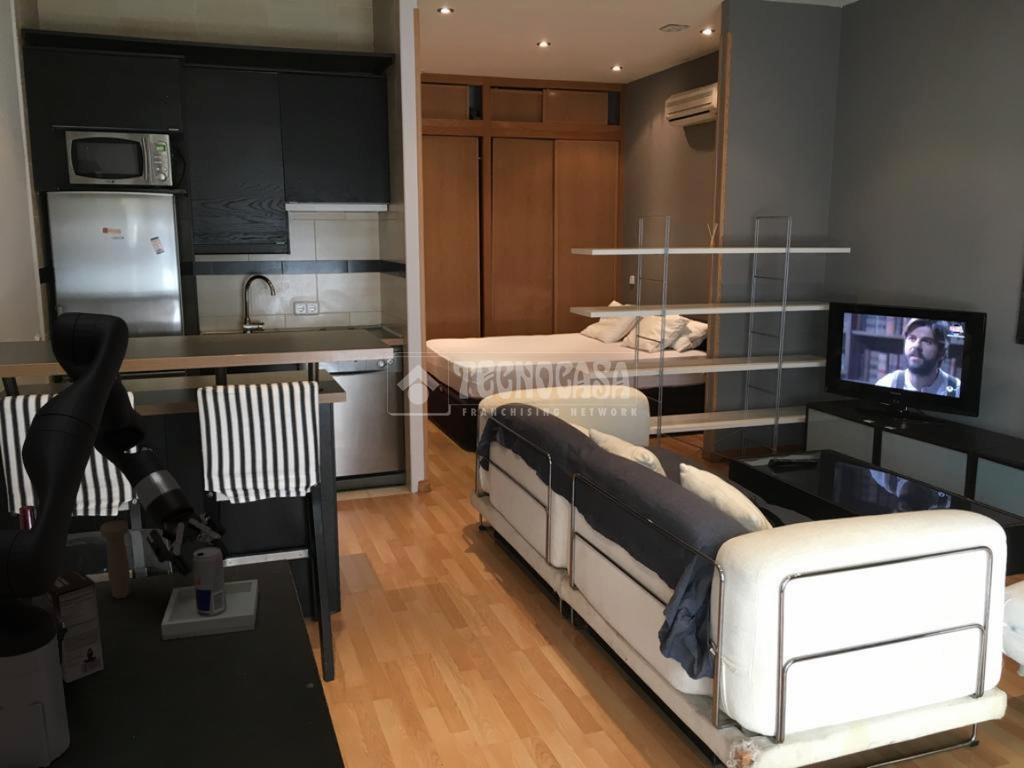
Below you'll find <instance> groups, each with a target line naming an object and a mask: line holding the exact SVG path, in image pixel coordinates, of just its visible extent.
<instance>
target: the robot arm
mask: <svg viewBox="0 0 1024 768" xmlns="http://www.w3.org/2000/svg"><path fill="white" fill-rule="evenodd" d="M129 332H130V331H129V327H128V324H127V322H126V321H125V320H124V319H123V318H122V317H120V316H117V315H112V314H104V313H91V312H81V311H79V312H77V311H73V312H72V311H71V312H69V311H68V312H63V313H61V314H59V315H58V316H57V317H56V319H55V320H54V322H53V326H52V328H51V334H50V342H51V343H50V344H51V349H52V350H51V351H52V353H53V355H54V357H55V360H56V361H57V363H58V364H59V366H60V367H61V368H62V370H63V371H64V372H65V374H66V375H67V376H68V378H69V379H70V380H71V382H72V384H70V385H69V386H67V387H65V388H64V389H63V390H61V391H60V392H58V393H57V394H56V395H54V396H53V397H51V399H49V400H48V401H46V402H45V403H44V404H43V405H42V406H41V407H40V408H39V409H38V410H37V411H36V413H35V415H34V416H33V418H32V420H31V423H30V425H29V427H28V429H27V430H28V431H27V433H26V436H25V439H24V442H23V444H22V447H21V451H20V453H21V459H22V461H21V462H22V465H23V467H24V470H25V472H26V475H27V476H28V479H29V480H30V483H31V485H32V487H33V489H34V492H35V495H36V497H37V502H38V503H37V504H38V505H37V506H38V508H37V512H36V517H35V521H34V522H33V524H32V526H31V527H30V528H29V529H8V530H7V529H3V530H2V529H1V530H0V768H39V767H44V768H47V766H48V767H50V765H51V763H52V762H53V761H54V760H56V759H57V758H59V757H61V755H63V754H64V753H65V751H67V750H68V749H69V747H70V744H71V737H70V730H69V722H68V720H69V719H68V715H67V714H68V713H67V709H66V707H67V705H66V699H65V698H66V697H65V692H64V691H65V690H64V683H63V681H64V680H63V679H62V673H61V665H60V657H59V648H58V640H57V633H56V632H57V631H56V623H55V619H54V616H53V615H52V614H51V613H50V612H49V611H47V610H45V609H43V608H41V607H39V606H36V605H33V604H31V603H28V602H27V601H25V600H23V598H24V599H25V598H26V599H27V598H39V596H42V595H45V594H46V593H47V592H49V591H50V590H51V588H52V587H53V585H54V584H55V582H56V579H57V577H58V574H59V572H61V568H62V563H63V559H64V555H65V551H66V546H67V541H68V537H69V531H70V528H71V522H72V517H73V513H74V509H75V505H76V502H77V499H78V494H79V491H80V487H81V484H82V481H83V478H84V474H85V471H86V469H87V466H88V464H89V460H90V458H91V455H92V452H93V448H94V449H95V450H96V451H97V452H98V453H99V455H101V456H103V458H104V459H106V460H107V461H109V462H110V463H112V465H114V467H116V468H117V469H118V470H119V472H121V473H122V474H123V476H124V477H125V479H126V480H127V481H128V483H129V485H130V486H131V488H132V489H133V491H134V492H135V494H136V495H135V496H136V497H137V499H138V501H139V502H140V504H141V506H142V508H144V510H145V512H146V513H147V515H148V516H149V519H150V520H151V521H152V523H153V525H154V526H155V527H156V528H157V529H158V530H157V529H151V531H150V532H149V533H148V535H147V536H146V541H147V542H148V545H149V546H150V548H151V549H152V551H153V554H154V555H155V557H156V558H157V560H158V562H159V563H161V564H162V563H165V562H170V563H172V565H173V566H174V568H175V569H176V571H177V573H178V574H180V575H181V576H183V577H184V578H185V577H188V576H190V574H191V573H192V567H191V566H190V565H189V563H188V561H187V560H186V559H185V557H184V555H183V554H181V547H183V546H185V545H186V544H188V543H193V542H195V541H199V542H201V543H202V542H204V543H207V544H209V545H211V547H217V548H220V549H221V552H222V556H223V561H225V560H227V558H228V557H229V553H230V552H229V550H228V548H227V547H226V545H225V543H224V541H222V538H223V537H224V535H226V533H227V529H226V528H225V527H224V526H223V524H222V523H221V521H220V520H219V519H218V517H217V516H216V515H215V513H214V512H213V511H212V510H211V509H207V510H206V511H205V513H204V512H203V513H202V514H197V513H196V512H195V510H194V506H193V504H192V503H191V501H190V500H189V498H188V497H187V495H186V494H185V493H184V491H183V489H182V488H181V486H180V485H179V483H178V482H177V480H176V478H175V477H173V476H172V474H171V473H170V472H169V471H168V469H167V468H166V466H165V465H164V464H163V462H162V461H161V459H160V457H159V456H158V454H157V453H156V452H155V451H153V450H151V449H143V450H140V451H135V452H129V453H128V452H127V451H129V450H131V449H133V448H135V447H137V446H140V445H141V444H143V443H145V441H147V439H148V437H149V435H150V427H149V424H148V422H147V420H146V419H145V418H144V417H143V415H141V414H140V413H139V412H138V411H137V410H135V408H134V407H133V406H132V403H131V399H130V396H129V393H128V390H127V388H126V387H125V385H124V384H123V383H122V382H121V381H120V380H119V379H117V376H118V374H119V372H120V369H121V367H122V365H123V362H124V360H125V356H126V354H127V350H128V346H129V338H130V336H129V335H130V333H129ZM201 532H202V533H201ZM163 538H164V539H166V540H168V541H169V543H168V545H169V546H168V547H167V545H166V544H165V541H164V540H163Z"/></svg>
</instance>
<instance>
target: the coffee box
mask: <svg viewBox="0 0 1024 768" xmlns="http://www.w3.org/2000/svg"><path fill="white" fill-rule="evenodd" d="M47 595H48V598H49V601H50V604H51V607H52V609H53V610H54V612H55V613H56V615H57V618H58V620H59V622H60V623H61V622H62V623H64V624H65V625H64V626H66V627H67V628H66V629H67V630H68V631H67V632H66V634H64V635H65V636H64V638H63V639H64V640H63V641H62V663H61V673H62V681H64V682H65V683H67V684H69V683H71V682H75V681H77V680H79V679H82V678H84V677H87V676H90V675H92V674H94V673H97V671H98V672H99V671H102V670H104V669H105V668H104V659H103V650H102V649H103V648H102V647H103V646H102V641H101V630H100V619H99V612H98V602H97V601H98V599H97V592H96V581H94V580H92V579H91V578H90V577H89V576H87V575H86V574H85V573H83V572H82V571H81V570H79V569H78V568H77V567H76V566H73V567H72V568H68V569H65V570H62V571H61V570H60V572H59V574H58V577H57V579H56V582H55V584H54V585H53V587H52V588H51V590H50V591H49V592H47Z"/></svg>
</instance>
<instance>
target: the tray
mask: <svg viewBox="0 0 1024 768" xmlns="http://www.w3.org/2000/svg"><path fill="white" fill-rule="evenodd" d="M258 584H259V583H258V579H257V578H256V579H248V580H239V581H230V582H225V594H226V609H225V610H224V612H222V613H220V614H218V615H215V616H202V615H200V614H199V613H198V612H197V604H196V593H195V585H192V586H185V587H184V586H183V587H173V589H172V592H171V594H170V598H169V600H168V605H167V606H166V609H165V613H164V617H163V618H162V621H161V625H160V626H161V638H162V641H169V639H171V640H177V638H180V639H188V638H195V637H194V636H196V637H203V636H212V635H218V634H219V635H220V634H228V633H236V632H244V631H252V630H255V628H256V619H257V609H258V601H259V598H258V597H259V585H258ZM187 637H188V638H187Z"/></svg>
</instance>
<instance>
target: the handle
mask: <svg viewBox="0 0 1024 768" xmlns="http://www.w3.org/2000/svg"><path fill="white" fill-rule="evenodd" d="M128 530H129V525H128V522H127V521H126V520H122V519H121V520H111V521H108V522H105V523H103V524H101V525H100V535H101V537H103V538H105V540H106V555H107V556H106V560H107V575H108V582H109V586H110V590H111V596H112V597H113V598H115V599H116V600H120V599H125V598H127V597H128V596H129V595H130V594H131V588H130V586H131V583H130V582H131V580H130V579H131V577H130V565H129V559H128V554H127V553H128V552H127V549H126V548H127V547H126V543H125V542H126V541H125V535H126V534H128ZM127 595H128V596H127Z"/></svg>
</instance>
